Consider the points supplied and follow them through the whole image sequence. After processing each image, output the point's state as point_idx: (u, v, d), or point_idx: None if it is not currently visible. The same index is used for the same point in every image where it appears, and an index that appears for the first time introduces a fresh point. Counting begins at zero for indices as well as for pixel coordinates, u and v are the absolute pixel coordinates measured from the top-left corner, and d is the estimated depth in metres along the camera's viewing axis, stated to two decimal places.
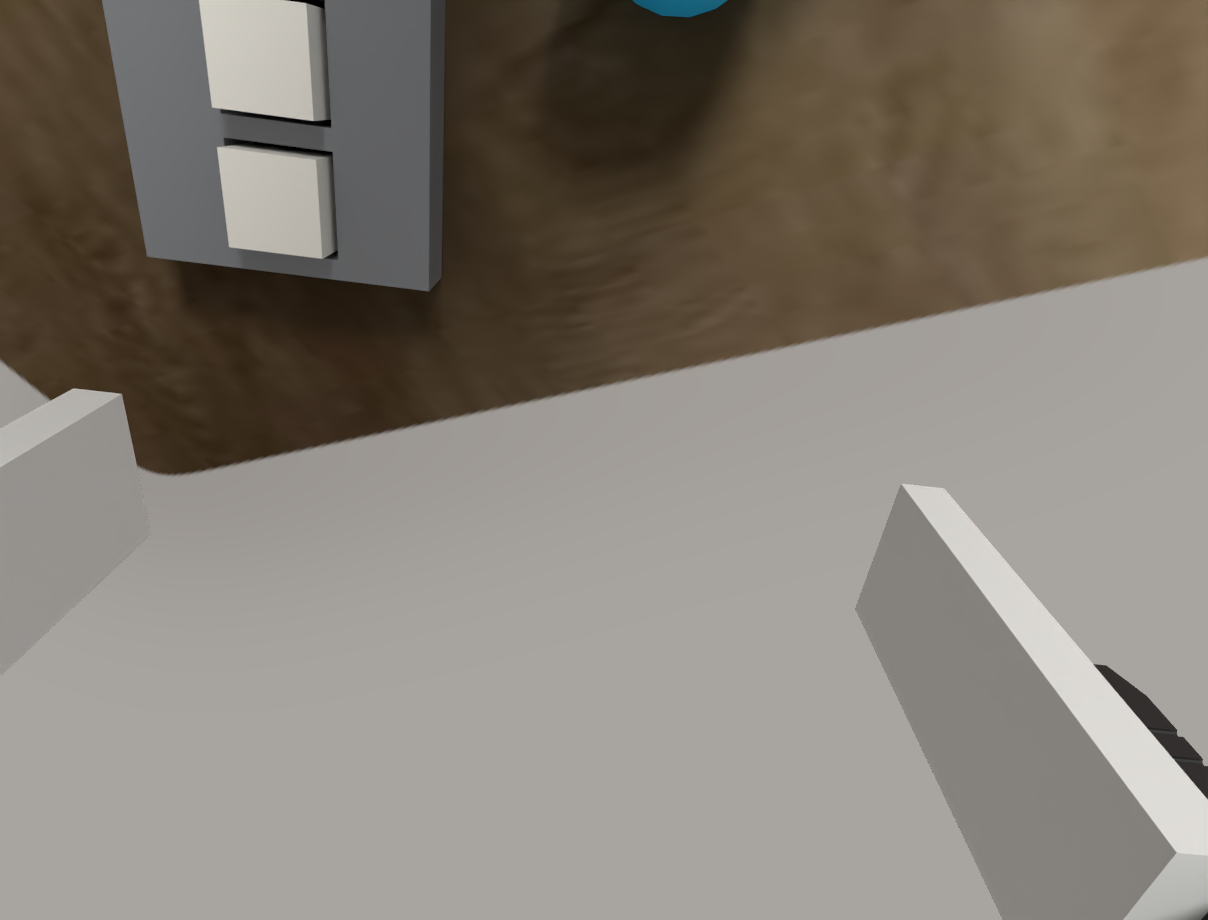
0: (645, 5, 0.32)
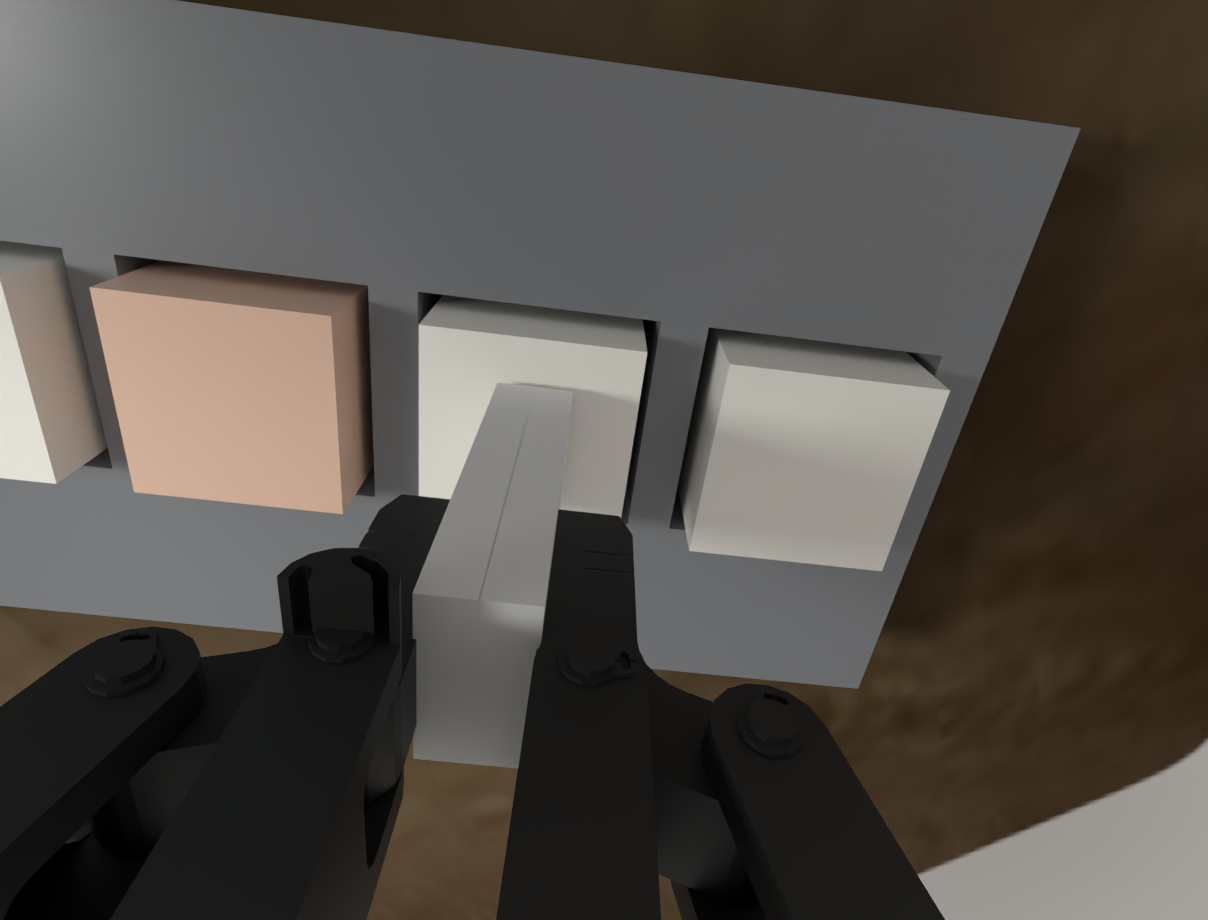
0: None
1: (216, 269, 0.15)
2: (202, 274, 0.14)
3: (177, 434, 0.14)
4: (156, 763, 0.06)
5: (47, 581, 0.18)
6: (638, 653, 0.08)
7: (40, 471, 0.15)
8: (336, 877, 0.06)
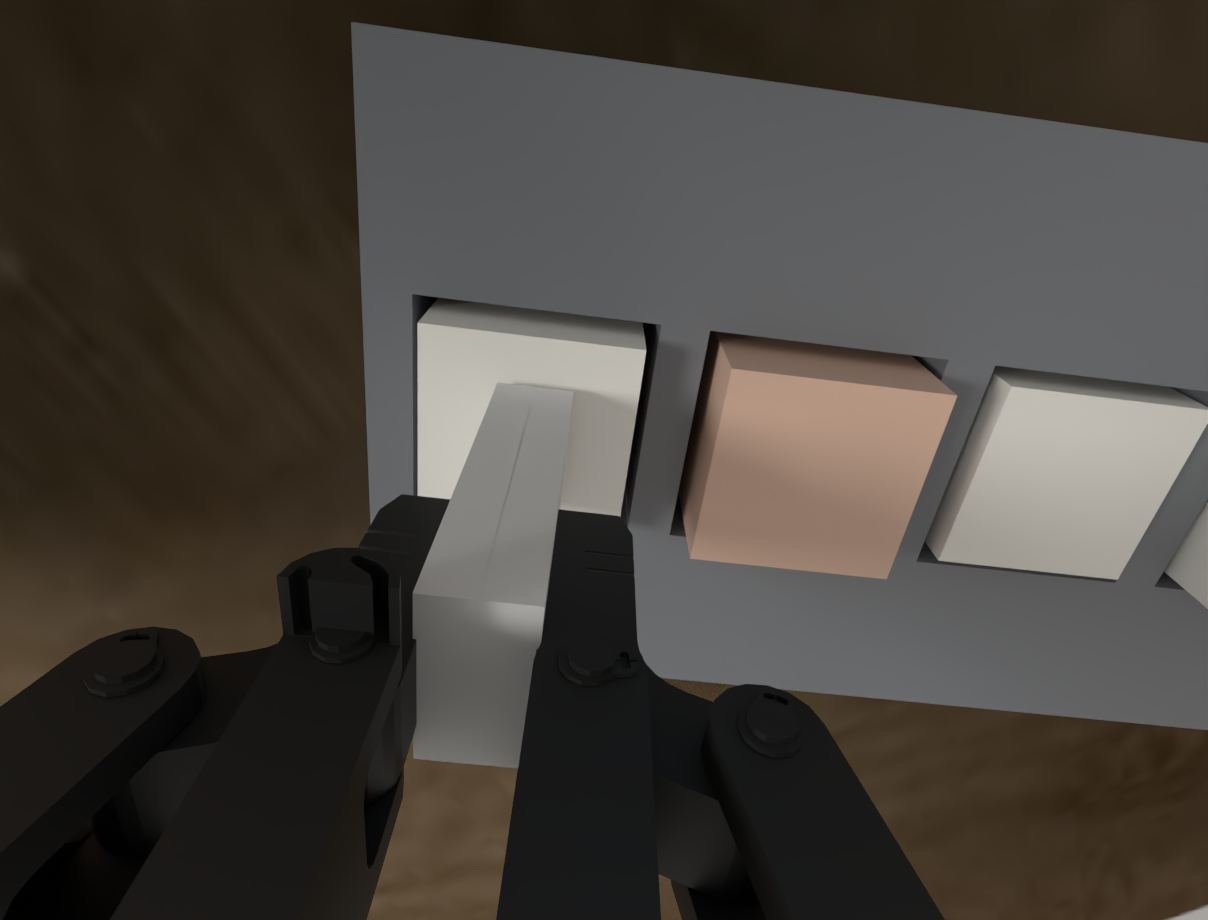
0: None
1: (772, 340, 0.15)
2: (773, 346, 0.15)
3: (756, 504, 0.15)
4: (156, 763, 0.06)
5: None
6: (638, 653, 0.08)
7: None
8: (336, 877, 0.06)
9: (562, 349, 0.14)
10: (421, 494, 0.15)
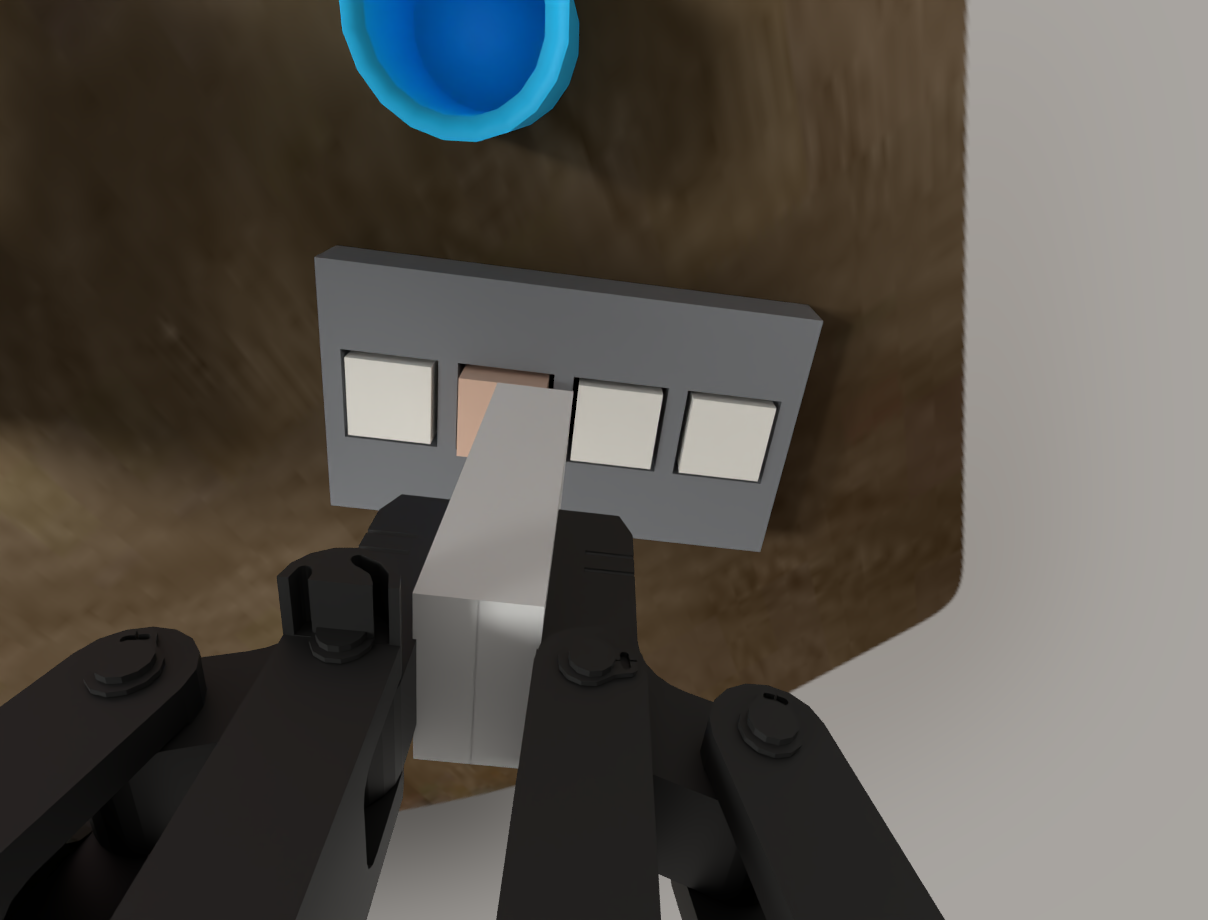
0: (571, 74, 0.32)
1: None
2: (487, 369, 0.37)
3: None
4: (155, 763, 0.06)
5: None
6: (638, 653, 0.08)
7: (425, 439, 0.38)
8: (336, 877, 0.06)
9: (399, 366, 0.36)
10: (349, 424, 0.37)
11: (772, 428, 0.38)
